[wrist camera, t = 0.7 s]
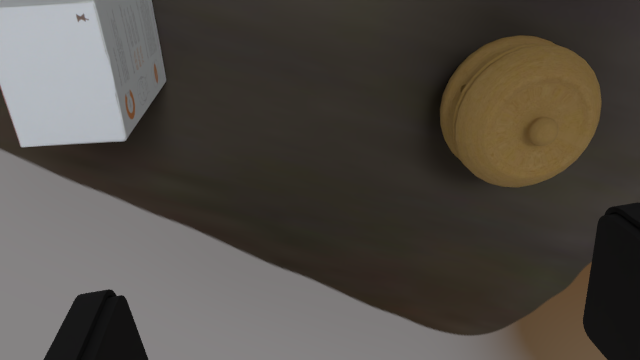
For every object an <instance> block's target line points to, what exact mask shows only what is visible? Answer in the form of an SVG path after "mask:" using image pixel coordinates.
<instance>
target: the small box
mask: <svg viewBox="0 0 640 360" xmlns="http://www.w3.org/2000/svg"><path fill="white" fill-rule="evenodd" d="M165 83H166V76H165V70H164V64H163V59H162V53H161V48H160V42H159V37H158V32H157V26H156V21H155V16H154V10H153V5H152V0H1V1H0V88H1V91H2V94H3V97H4V100H5V103H6V105H7V108H8V111H9V114H10V117H11V120H12V123H13V126H14V129H15V132H16V135H17V137H18V140H19V143H20V146H21V147H32V146H49V145H67V144H85V143H103V142H122V141H126V140H127V138H128V137H129V135H130V133H131V132H132V130H133V129H134V128H135V126H136V125H137V123H138V122H139V120H140V119H141V117H142V116H143V115H144V113H145V112H146V110H147V109H148V107H149V106H150V104H151V103H152V101H153V100H154V99H155V97H156V96H157V94H158V93H159V91H160V90H161V88H162V87H163V85H164V84H165Z"/></svg>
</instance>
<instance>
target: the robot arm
mask: <svg viewBox="0 0 640 360" xmlns="http://www.w3.org/2000/svg"><path fill="white" fill-rule="evenodd" d="M583 324H584V329H585V332H586V333H587V336H588V337H589V338H590V340H591V341H592V342H593V343H594V344H595V346H596V347H597V348H598V349H599V350H600V351H601V353H602V354H603V355H604V356H605V357H606V358H607V359H608V360H640V203H633V204H627V205H620V206H614V207H611V208H609V209H608V210H607V211H606V212H605V215H604V216H602V217H601V218H600V219H599V221H598V226H597V232H596V239H595V245H594V252H593V258H592V265H591V271H590V278H589V284H588V291H587V297H586V304H585V310H584V317H583ZM44 360H148V357H147V355H146V352H145V349H144V347H143V344H142V341H141V338H140V335H139V333H138V330H137V327H136V324H135V322H134V319H133V316H132V313H131V311H130V308H129V305H128V303H127V300H126V298H125V297H124V296H122V295H121V296H116V294H115V293H114V292H113V291H112V290H103V291H97V292H91V293H85V294H80V295H78V296H77V297H76V299H75V301H74V302H73V304H72V306H71V308H70V310H69V312H68V314H67V316H66V318H65V320H64V321H63V323H62V326H61V327H60V329H59V331H58V333H57V335H56V337H55V339H54V341H53V343H52V345H51V347H50V348H49V351H48V352H47V355H46V356H45V358H44Z"/></svg>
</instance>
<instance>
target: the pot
mask: <svg viewBox="0 0 640 360" xmlns="http://www.w3.org/2000/svg"><path fill="white" fill-rule="evenodd" d="M601 103H602V102H601V93H600V85H599V83H598V80H597V78H596V75H595V73H594V71H593V70H592V69H591V67H590V66H589V65H588V63H587V62H586V61H585V60H584V59H583V58H581V57H580V56H579V55H577V54H576V53H574V52H573V51H571V50H569V49H567V48H564V47H561V46H558V45H556V44H554V43H553V42H551V41H548V40H545V39H542V38H539V37H536V36H524V35H518V36H511V37H505V38H500V39H498V40H495V41H493V42H490V43H488V44H485V45H484V46H482V47H481V48H479V49H478V50H476V51H475V52H473V53H472V54H470V55H469V56H468V57H467V58H466V59H465V60H464V61H463V62H462V63H461V64H460V65H459V66H458V68H457V69H456V71H455V72H454V73H453V75H452V76H451V78H450V79H449V81H448V84H447V86H446V88H445V90H444V93H443V96H442V101H441V106H440V125H441V129H442V133H443V136H444V140H445V141H446V143H447V145H448V147H449V148H450V150H451V152H452V153H453V154H454V155H455V156H456V157H458V158H459V159H460V160H461V161H462V163H463V164H464V165H465V166H466V167H467V168H468V169H469V170H470V171H471V172H472V173H473V174H474V175H475V176H477V177H478V178H480V179H482V180H484V181H486V182H488V183H490V184H494V185H498V186H502V187H522V186H528V185H533V184H537V183H539V182H542V181H545V180H547V179H550V178H552V177H553V176H555V175H557V174H559V173H560V172H562V171H564V170H565V169H566V168H567V167H569V166H570V165H571V164H572V163H573V162H575V161H576V160H577V159H578V157H579V156H580V155H581V154H582V153H583V151H584V150H585V149H586V148H587V146H588V144H589V142H590V141H591V139H592V137H593V136H594V133H595V130H596V128H597V125H598V122H599V118H600V111H601Z"/></svg>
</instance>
